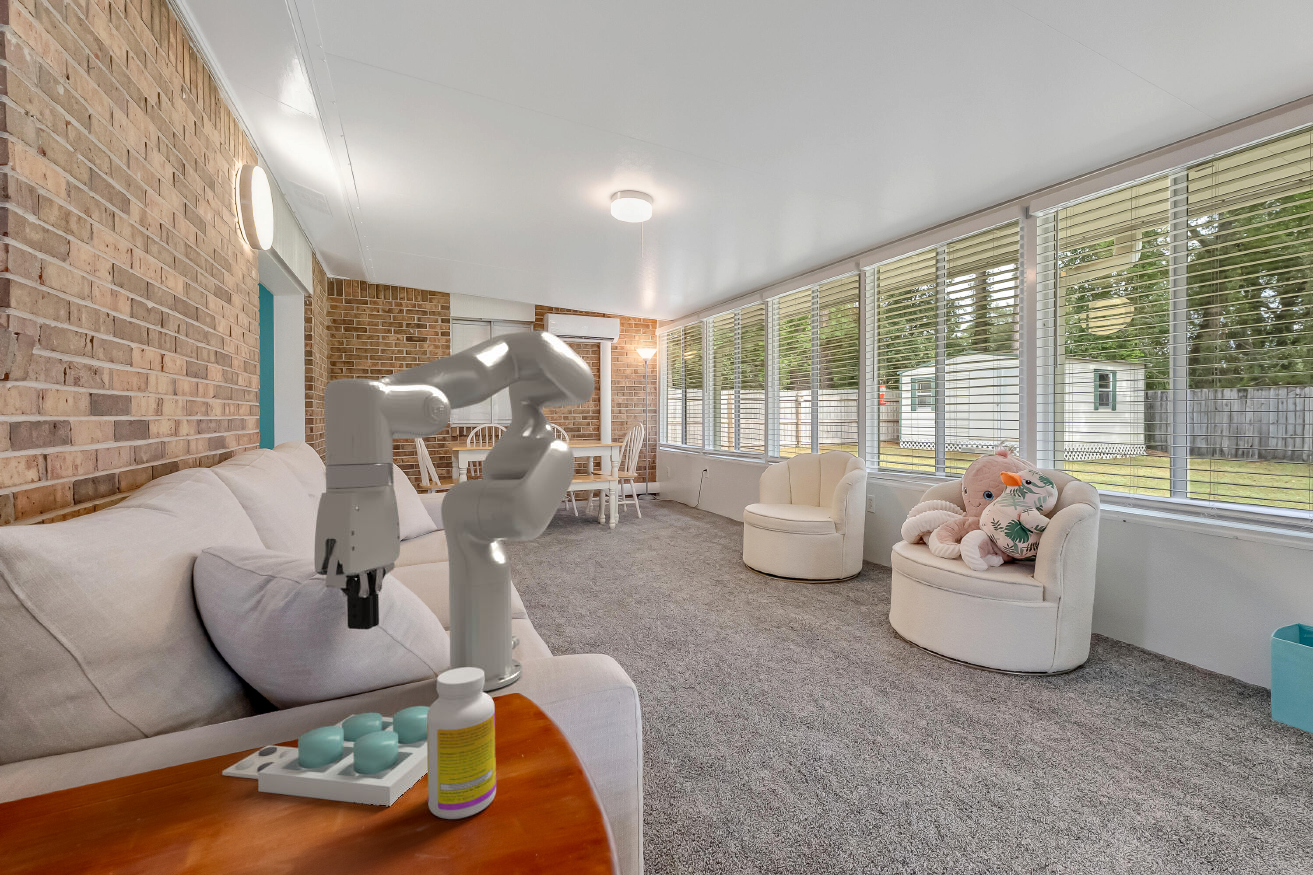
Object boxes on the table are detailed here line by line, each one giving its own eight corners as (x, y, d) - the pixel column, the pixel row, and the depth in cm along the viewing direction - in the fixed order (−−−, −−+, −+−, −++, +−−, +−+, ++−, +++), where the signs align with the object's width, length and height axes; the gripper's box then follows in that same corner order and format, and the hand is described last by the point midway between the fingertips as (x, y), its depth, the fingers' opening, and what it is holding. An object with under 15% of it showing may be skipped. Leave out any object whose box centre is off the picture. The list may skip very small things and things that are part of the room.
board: (352, 729, 76) (352, 714, 76) (463, 739, 72) (463, 723, 73) (258, 791, 62) (258, 772, 62) (390, 806, 59) (389, 786, 59)
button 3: (372, 751, 66) (372, 729, 66) (406, 754, 65) (406, 732, 65) (344, 772, 62) (343, 748, 62) (380, 776, 61) (380, 751, 61)
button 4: (408, 725, 72) (408, 704, 73) (440, 727, 72) (439, 707, 72) (384, 742, 68) (384, 720, 68) (418, 745, 67) (417, 723, 67)
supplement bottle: (509, 799, 60) (506, 673, 60) (448, 831, 55) (446, 693, 55) (475, 776, 64) (473, 658, 64) (416, 803, 59) (414, 676, 60)
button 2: (359, 731, 74) (359, 711, 74) (389, 733, 73) (389, 713, 73) (333, 748, 70) (333, 727, 70) (365, 751, 69) (365, 730, 69)
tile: (268, 748, 71) (268, 743, 71) (309, 752, 70) (309, 747, 70) (222, 774, 66) (222, 769, 66) (266, 779, 64) (266, 774, 64)
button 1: (319, 746, 68) (319, 724, 68) (352, 749, 67) (352, 727, 67) (288, 766, 63) (288, 743, 63) (323, 769, 62) (322, 746, 62)
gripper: (375, 476, 80) (377, 609, 80) (284, 483, 66) (287, 646, 65) (423, 475, 79) (426, 610, 78) (342, 482, 64) (345, 649, 64)
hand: (363, 626), depth 72 cm, fingers closed
